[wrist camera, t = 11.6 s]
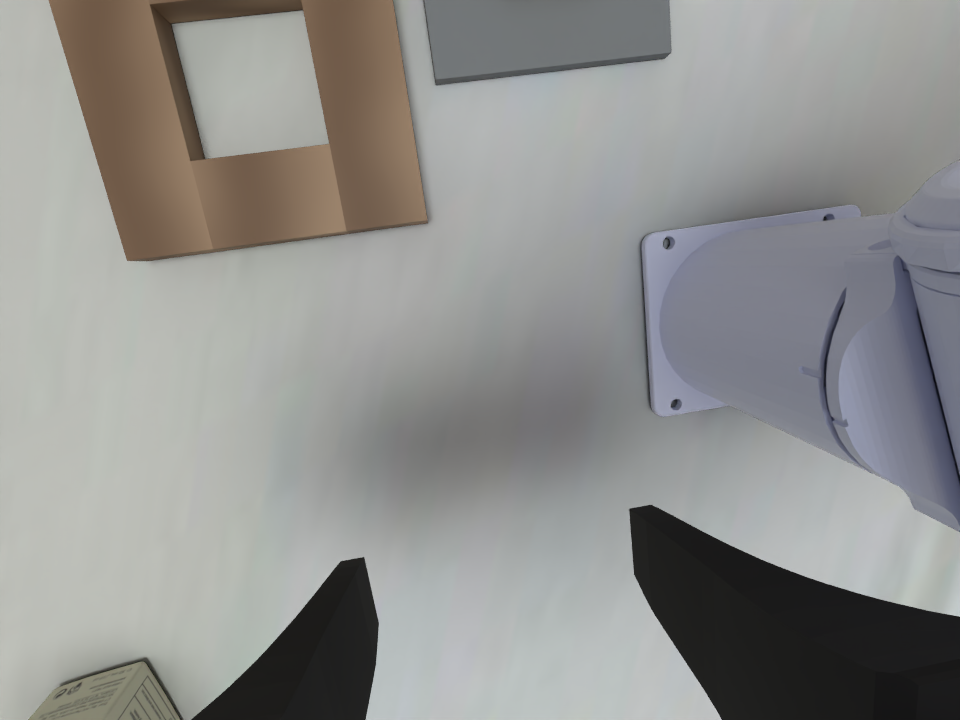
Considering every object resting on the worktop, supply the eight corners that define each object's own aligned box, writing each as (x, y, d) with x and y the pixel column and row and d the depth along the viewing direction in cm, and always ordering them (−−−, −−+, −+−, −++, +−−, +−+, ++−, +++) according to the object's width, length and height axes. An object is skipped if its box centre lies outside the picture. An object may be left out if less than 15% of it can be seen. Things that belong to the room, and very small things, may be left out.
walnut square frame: (377, -98, 16) (372, -128, 15) (428, 223, 18) (427, 219, 17) (51, -69, 15) (19, -97, 14) (148, 261, 17) (127, 260, 16)
